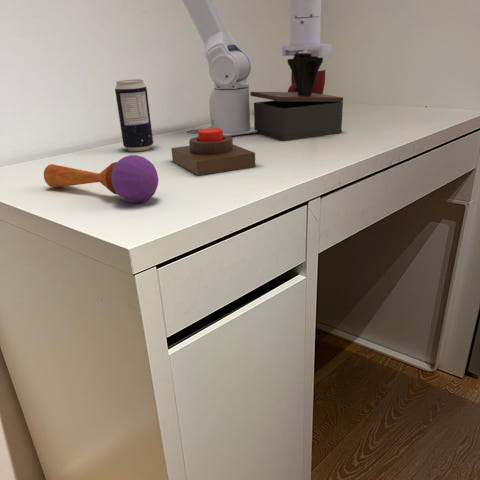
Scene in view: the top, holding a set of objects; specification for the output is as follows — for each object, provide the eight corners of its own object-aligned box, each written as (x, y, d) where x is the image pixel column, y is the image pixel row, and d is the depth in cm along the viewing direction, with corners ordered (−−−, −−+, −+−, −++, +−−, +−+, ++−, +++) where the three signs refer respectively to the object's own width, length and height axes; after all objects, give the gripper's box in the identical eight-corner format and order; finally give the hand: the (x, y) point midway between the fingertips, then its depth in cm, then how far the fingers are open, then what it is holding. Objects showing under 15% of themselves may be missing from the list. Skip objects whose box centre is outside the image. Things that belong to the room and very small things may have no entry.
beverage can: (159, 146, 99) (151, 79, 93) (142, 152, 95) (133, 82, 89) (135, 145, 101) (126, 79, 95) (118, 151, 97) (107, 82, 91)
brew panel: (172, 161, 88) (169, 137, 86) (225, 153, 91) (223, 130, 89) (197, 175, 78) (195, 148, 76) (255, 166, 82) (254, 140, 80)
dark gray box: (283, 140, 99) (283, 108, 96) (254, 131, 109) (253, 102, 106) (341, 132, 104) (343, 102, 101) (308, 124, 114) (309, 96, 111)
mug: (304, 120, 120) (305, 73, 115) (278, 117, 125) (277, 72, 120) (330, 113, 126) (332, 69, 121) (304, 111, 131) (304, 68, 126)
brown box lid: (280, 101, 95) (280, 96, 95) (250, 95, 105) (250, 91, 105) (343, 101, 101) (343, 97, 101) (309, 96, 111) (309, 92, 111)
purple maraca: (67, 154, 76) (166, 155, 66) (72, 195, 78) (168, 202, 68) (32, 154, 72) (132, 155, 61) (38, 198, 74) (136, 206, 63)
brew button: (195, 141, 84) (194, 129, 83) (217, 138, 85) (216, 127, 84) (204, 145, 81) (203, 133, 80) (227, 141, 82) (226, 130, 81)
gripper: (346, 15, 90) (342, 97, 97) (303, 18, 102) (302, 92, 109) (312, 17, 88) (311, 101, 95) (272, 20, 100) (274, 95, 106)
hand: (304, 96), depth 102 cm, fingers closed, pressing on brown box lid
